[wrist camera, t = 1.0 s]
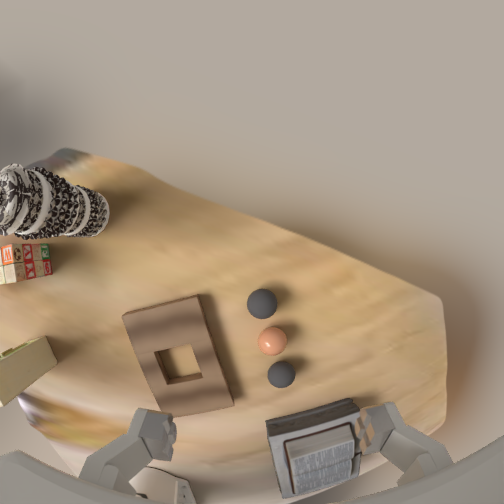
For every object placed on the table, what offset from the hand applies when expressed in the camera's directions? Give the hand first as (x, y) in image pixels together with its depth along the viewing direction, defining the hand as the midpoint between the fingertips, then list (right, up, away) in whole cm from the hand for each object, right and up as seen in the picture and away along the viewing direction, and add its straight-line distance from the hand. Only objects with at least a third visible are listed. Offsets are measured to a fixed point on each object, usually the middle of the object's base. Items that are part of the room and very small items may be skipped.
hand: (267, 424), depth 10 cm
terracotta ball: (+3, -8, +36) cm, 37 cm away
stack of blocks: (-50, +4, +33) cm, 60 cm away
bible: (+13, -37, +42) cm, 57 cm away
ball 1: (+1, -1, +36) cm, 36 cm away
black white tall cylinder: (-30, +14, +35) cm, 48 cm away
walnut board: (-14, -12, +37) cm, 42 cm away
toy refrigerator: (-46, -14, +34) cm, 59 cm away
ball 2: (+5, -15, +37) cm, 40 cm away
